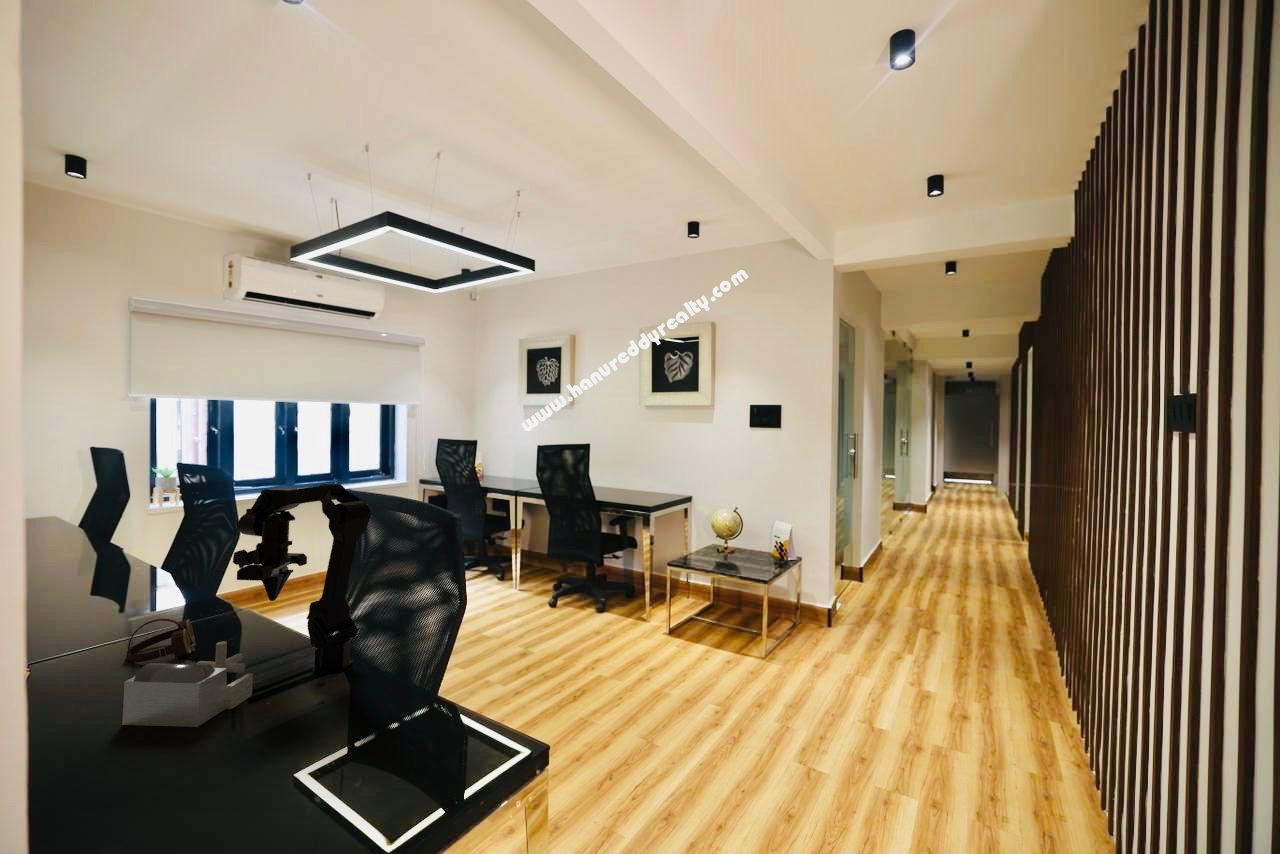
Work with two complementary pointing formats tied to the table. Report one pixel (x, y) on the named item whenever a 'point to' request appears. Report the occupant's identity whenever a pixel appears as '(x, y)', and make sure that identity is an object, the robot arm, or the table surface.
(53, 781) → the table surface
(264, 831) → the table surface
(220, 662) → the pipe connector
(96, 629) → the table surface
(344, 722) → the table surface
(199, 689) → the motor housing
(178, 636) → the goggles
